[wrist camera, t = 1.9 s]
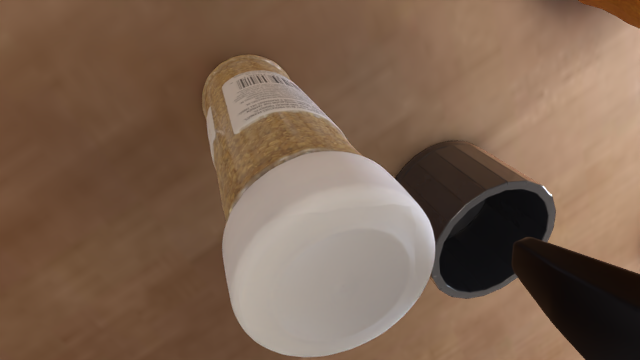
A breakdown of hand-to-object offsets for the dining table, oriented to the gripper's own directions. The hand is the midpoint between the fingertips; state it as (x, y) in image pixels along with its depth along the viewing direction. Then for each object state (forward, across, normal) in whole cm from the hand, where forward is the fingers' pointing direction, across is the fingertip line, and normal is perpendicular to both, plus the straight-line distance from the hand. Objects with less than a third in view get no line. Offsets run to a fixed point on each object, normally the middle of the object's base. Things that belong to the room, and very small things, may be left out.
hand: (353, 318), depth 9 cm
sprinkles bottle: (+13, 0, -2) cm, 13 cm away
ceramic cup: (+13, -10, +8) cm, 18 cm away
